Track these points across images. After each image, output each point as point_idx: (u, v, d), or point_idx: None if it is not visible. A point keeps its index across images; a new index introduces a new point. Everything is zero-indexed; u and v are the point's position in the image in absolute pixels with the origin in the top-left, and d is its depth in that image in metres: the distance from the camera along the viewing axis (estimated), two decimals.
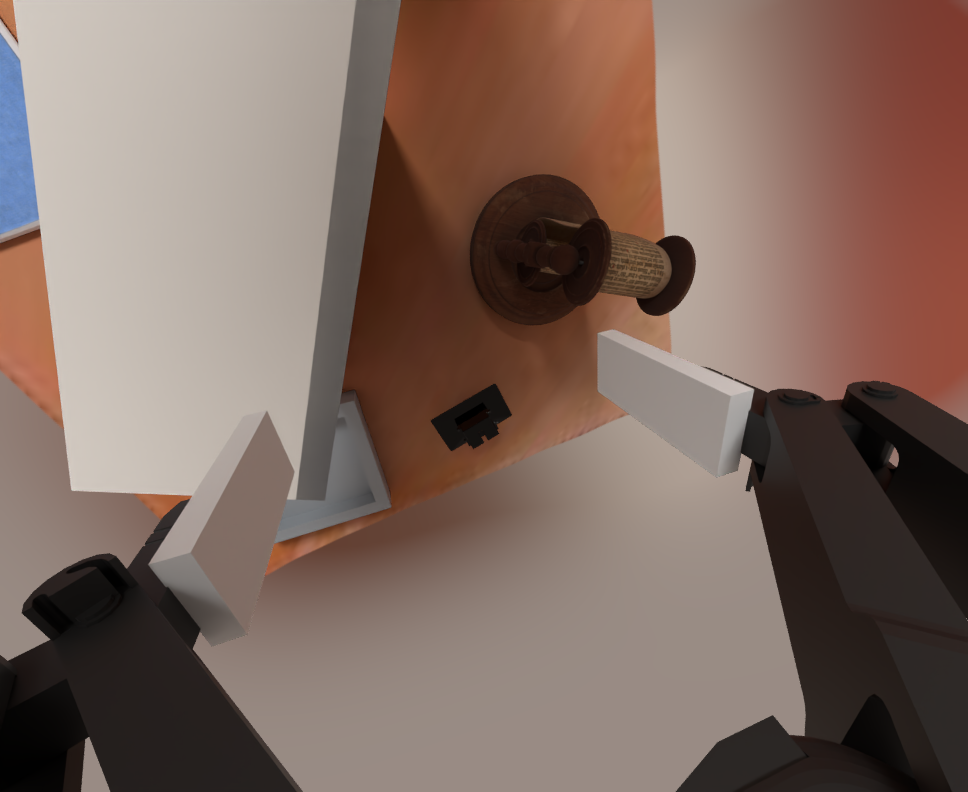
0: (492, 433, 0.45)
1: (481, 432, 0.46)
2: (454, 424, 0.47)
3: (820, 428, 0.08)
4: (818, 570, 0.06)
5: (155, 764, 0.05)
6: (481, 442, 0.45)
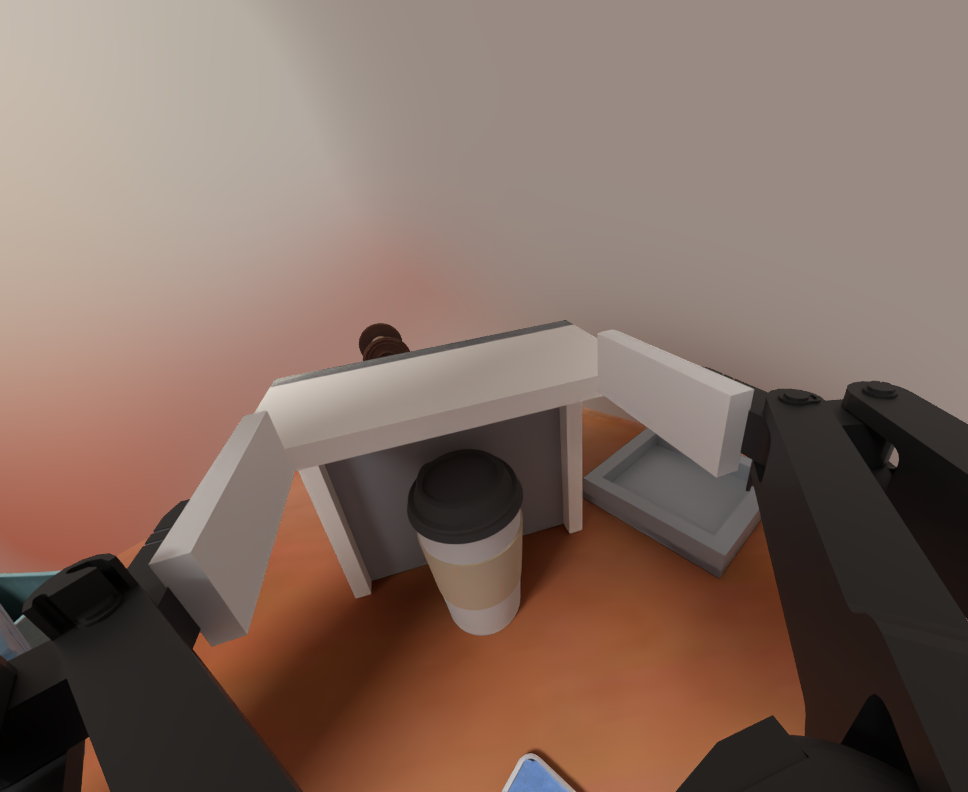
0: None
1: None
2: None
3: (820, 428, 0.08)
4: (819, 571, 0.06)
5: (155, 764, 0.05)
6: None
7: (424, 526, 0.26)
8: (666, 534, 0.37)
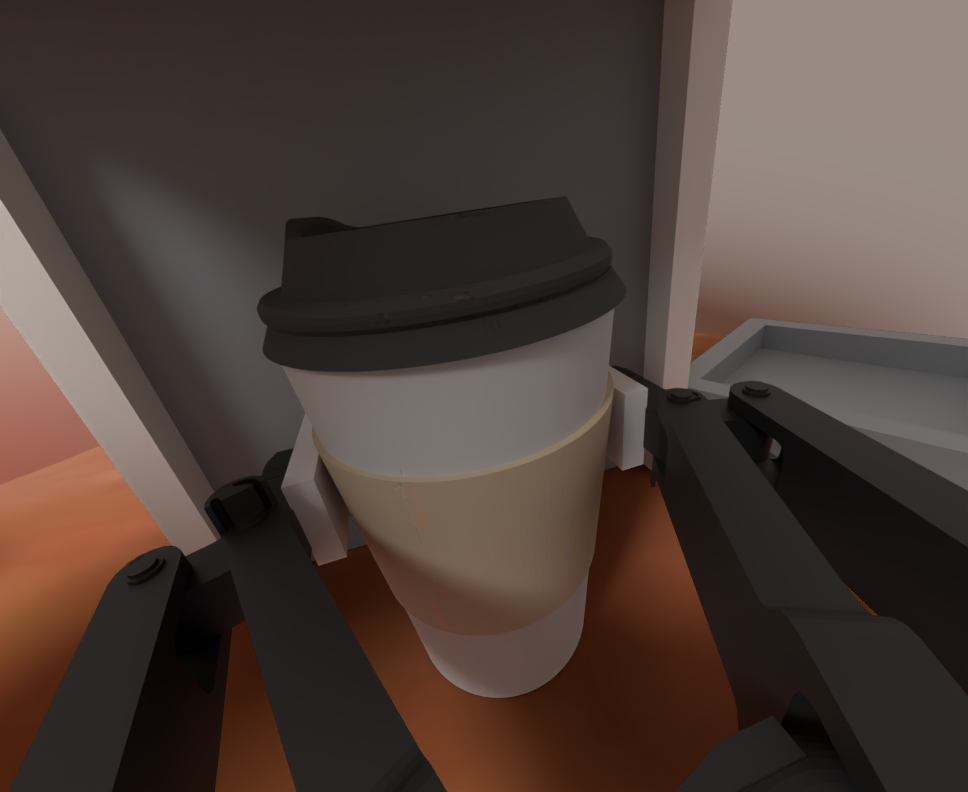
0: None
1: None
2: None
3: (705, 423, 0.09)
4: (728, 566, 0.06)
5: (287, 647, 0.06)
6: None
7: (282, 313, 0.07)
8: None
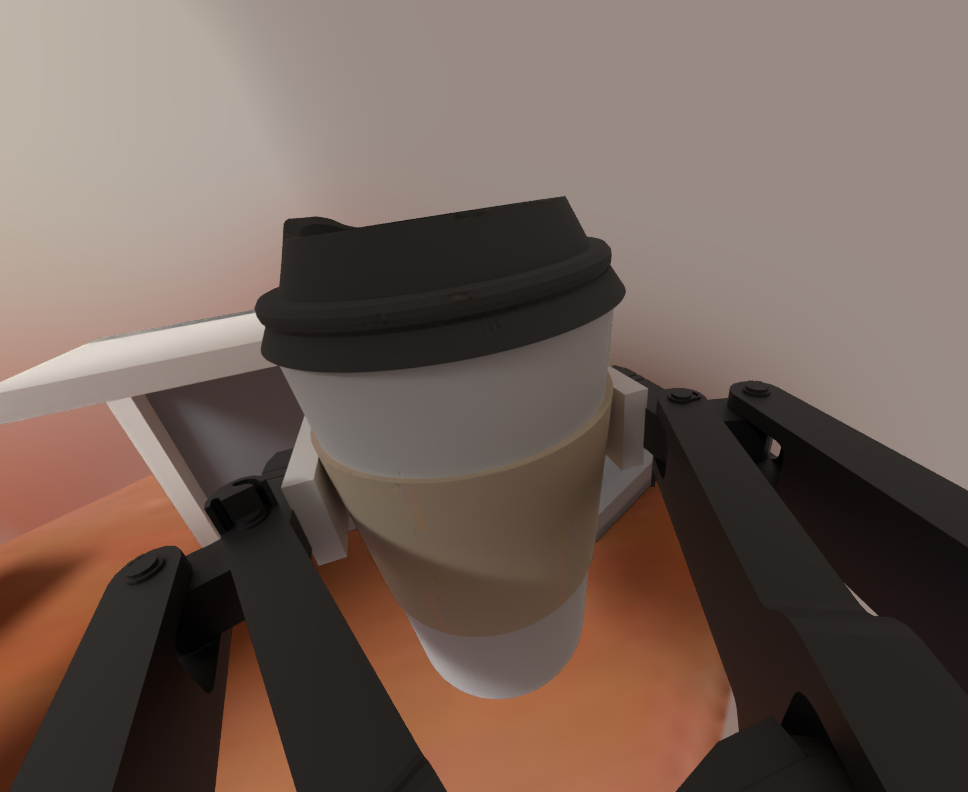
0: None
1: None
2: None
3: (706, 423, 0.09)
4: (728, 566, 0.06)
5: (287, 647, 0.06)
6: None
7: (280, 314, 0.07)
8: None
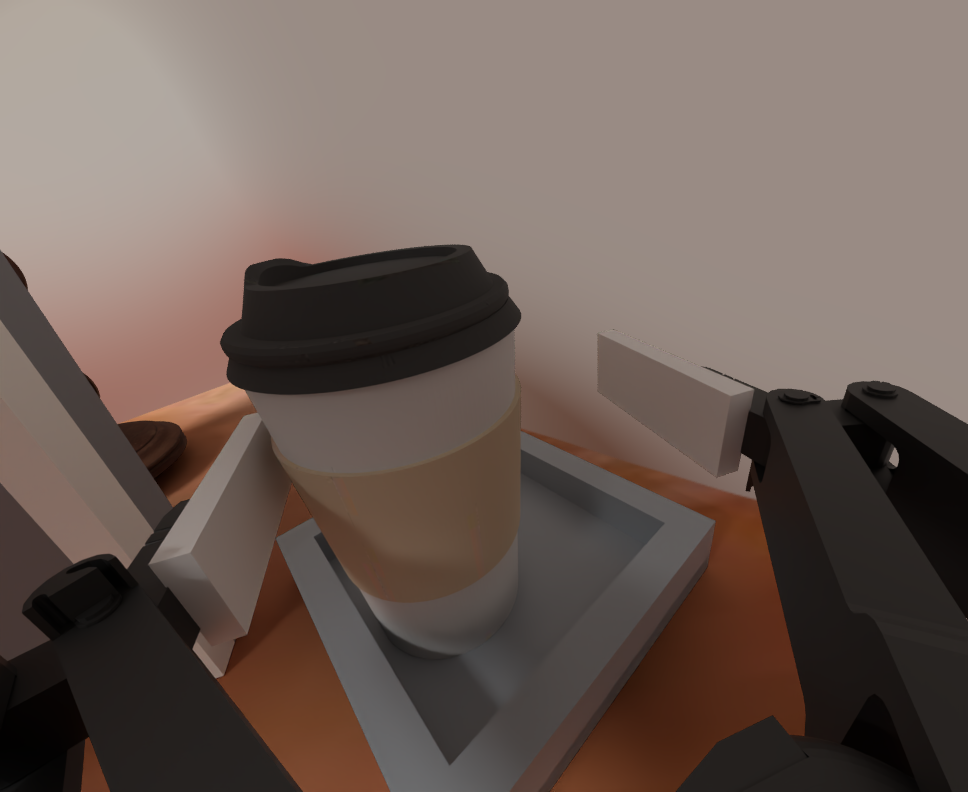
0: None
1: None
2: None
3: (820, 428, 0.08)
4: (818, 570, 0.06)
5: (155, 764, 0.05)
6: None
7: (235, 350, 0.09)
8: None
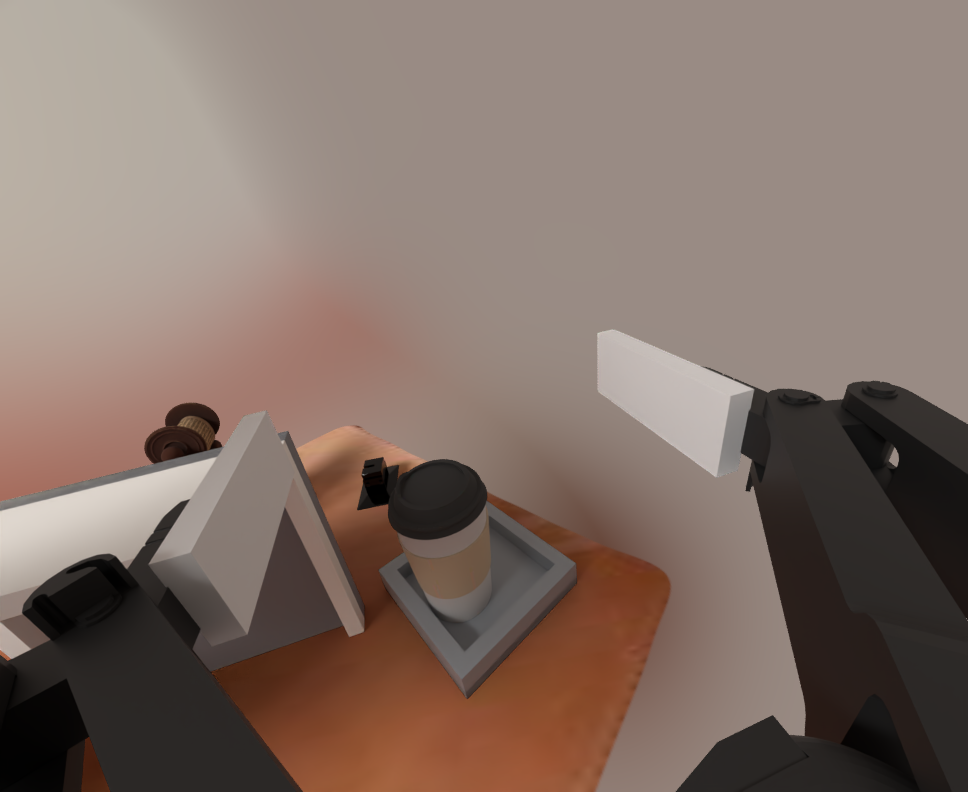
0: (365, 471, 0.56)
1: None
2: (385, 474, 0.61)
3: (820, 428, 0.08)
4: (818, 570, 0.06)
5: (155, 764, 0.05)
6: (365, 464, 0.58)
7: (402, 525, 0.31)
8: (430, 644, 0.35)
